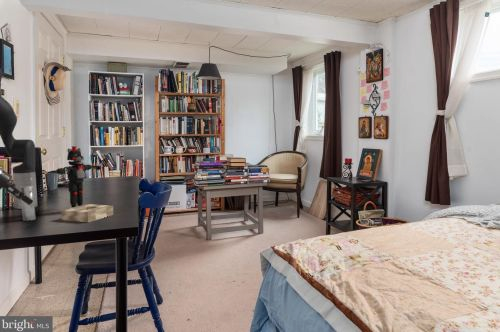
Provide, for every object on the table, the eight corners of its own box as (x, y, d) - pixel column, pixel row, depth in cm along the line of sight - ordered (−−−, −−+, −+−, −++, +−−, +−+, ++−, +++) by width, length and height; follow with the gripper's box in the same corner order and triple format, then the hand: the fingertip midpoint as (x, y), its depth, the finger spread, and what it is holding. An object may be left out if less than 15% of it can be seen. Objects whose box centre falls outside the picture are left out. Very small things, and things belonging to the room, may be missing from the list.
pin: (20, 220, 141) (18, 186, 140) (30, 218, 145) (28, 185, 144) (28, 221, 140) (25, 187, 138) (37, 218, 144) (35, 185, 142)
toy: (61, 219, 142) (57, 147, 139) (45, 218, 143) (41, 147, 141) (105, 205, 171) (103, 145, 169) (92, 204, 173) (89, 145, 170)
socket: (61, 219, 141) (61, 210, 141) (88, 212, 154) (87, 204, 154) (88, 222, 136) (87, 212, 136) (113, 214, 149) (112, 205, 149)
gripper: (2, 170, 130) (39, 196, 138) (1, 168, 141) (35, 192, 149) (-14, 185, 127) (24, 211, 135) (-14, 181, 139) (22, 206, 147)
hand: (30, 201), depth 142 cm, fingers open, 8 cm apart
